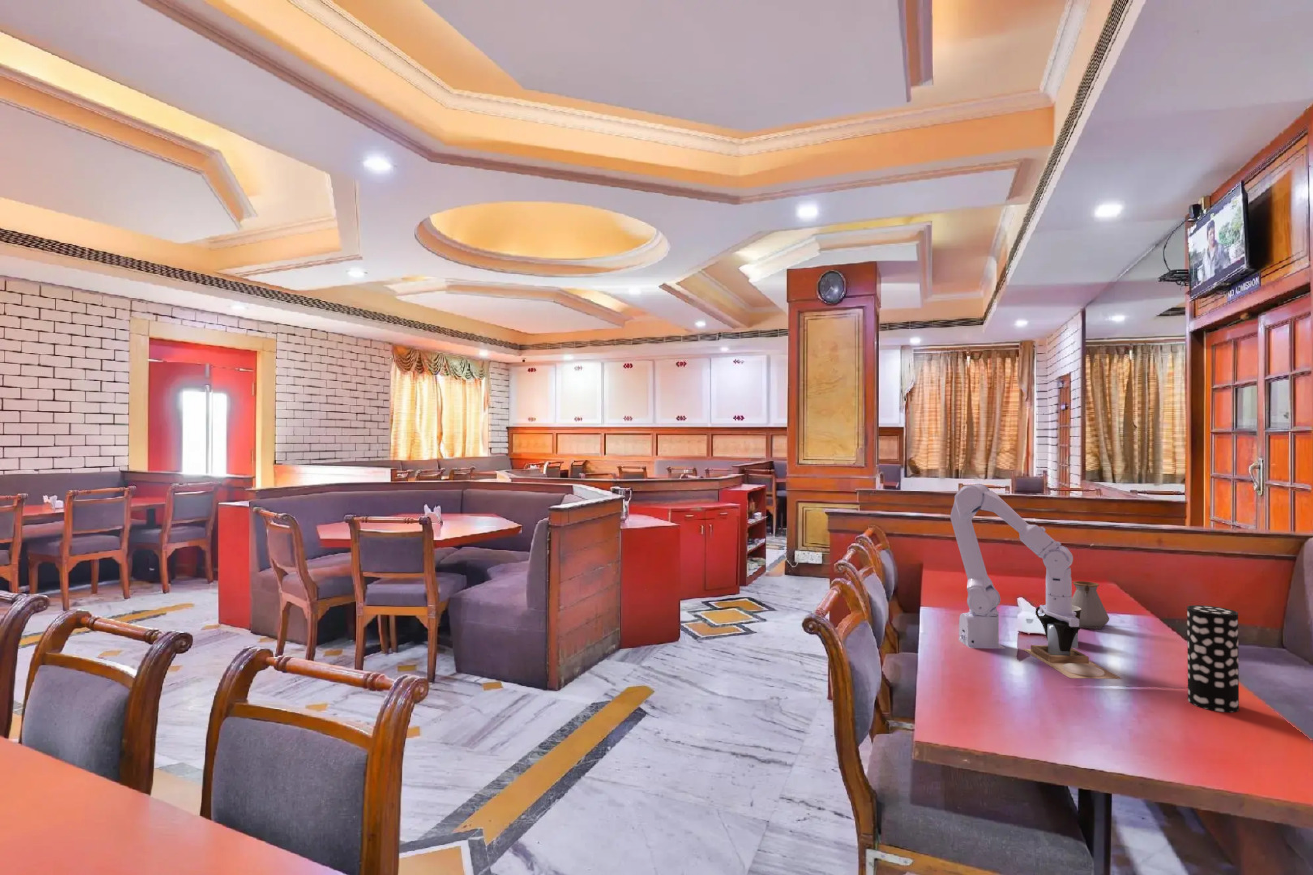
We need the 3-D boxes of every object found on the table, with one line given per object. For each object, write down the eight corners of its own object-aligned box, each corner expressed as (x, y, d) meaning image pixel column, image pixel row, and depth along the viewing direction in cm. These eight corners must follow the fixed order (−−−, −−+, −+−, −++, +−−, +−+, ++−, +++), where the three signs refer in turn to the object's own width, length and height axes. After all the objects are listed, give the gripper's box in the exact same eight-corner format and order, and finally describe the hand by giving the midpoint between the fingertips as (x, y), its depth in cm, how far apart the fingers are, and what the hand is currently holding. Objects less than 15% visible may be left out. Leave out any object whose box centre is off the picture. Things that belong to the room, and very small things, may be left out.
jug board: (1069, 680, 156) (1069, 670, 156) (1022, 651, 178) (1022, 642, 178) (1122, 681, 156) (1122, 671, 156) (1068, 651, 177) (1068, 643, 178)
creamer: (1054, 660, 169) (1054, 628, 169) (1043, 653, 174) (1043, 623, 174) (1082, 660, 169) (1082, 628, 169) (1071, 654, 174) (1071, 623, 174)
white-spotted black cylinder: (1230, 700, 144) (1230, 607, 144) (1245, 715, 136) (1244, 616, 136) (1182, 694, 147) (1182, 603, 147) (1194, 708, 140) (1193, 612, 140)
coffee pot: (1064, 618, 211) (1064, 571, 211) (1108, 623, 205) (1108, 574, 205) (1063, 634, 193) (1063, 583, 193) (1111, 641, 187) (1111, 587, 187)
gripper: (1091, 601, 164) (1092, 656, 164) (1058, 588, 178) (1059, 639, 178) (1062, 601, 164) (1062, 656, 164) (1031, 588, 179) (1032, 639, 179)
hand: (1058, 647), depth 171 cm, fingers closed on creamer, 5 cm apart
